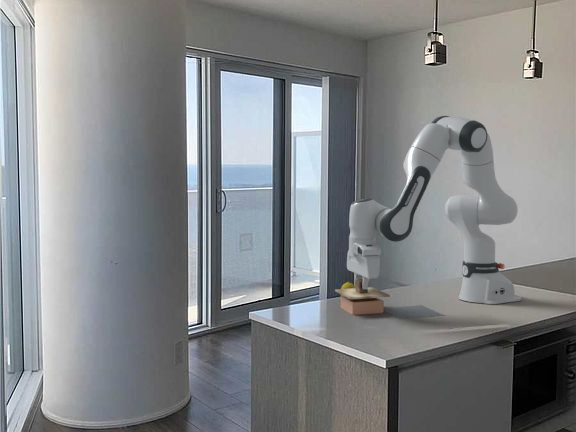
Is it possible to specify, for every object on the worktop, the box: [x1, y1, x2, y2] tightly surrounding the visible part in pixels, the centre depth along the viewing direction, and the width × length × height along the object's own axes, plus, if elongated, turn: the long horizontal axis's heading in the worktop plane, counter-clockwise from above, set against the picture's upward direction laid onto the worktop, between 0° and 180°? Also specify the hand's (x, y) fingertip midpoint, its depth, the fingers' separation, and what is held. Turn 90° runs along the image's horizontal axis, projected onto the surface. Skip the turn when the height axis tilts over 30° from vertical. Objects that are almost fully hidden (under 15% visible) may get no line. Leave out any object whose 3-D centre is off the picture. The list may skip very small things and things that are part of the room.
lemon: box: [340, 281, 356, 297], centre depth 226 cm, size 6×6×8 cm
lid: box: [334, 279, 391, 299], centre depth 211 cm, size 14×14×5 cm
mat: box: [383, 304, 446, 320], centre depth 209 cm, size 16×16×1 cm
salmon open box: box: [340, 295, 385, 316], centre depth 211 cm, size 11×11×5 cm
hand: (362, 287), depth 211 cm, fingers closed on lid, 3 cm apart
